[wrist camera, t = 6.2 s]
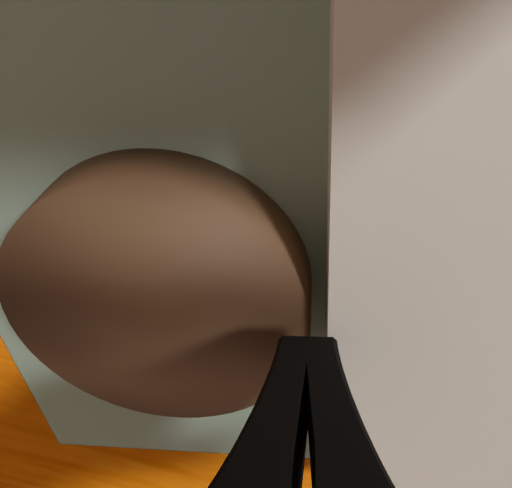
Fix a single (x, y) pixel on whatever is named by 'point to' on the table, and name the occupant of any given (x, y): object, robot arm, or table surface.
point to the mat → (163, 142)
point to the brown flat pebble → (156, 282)
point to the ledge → (424, 233)
